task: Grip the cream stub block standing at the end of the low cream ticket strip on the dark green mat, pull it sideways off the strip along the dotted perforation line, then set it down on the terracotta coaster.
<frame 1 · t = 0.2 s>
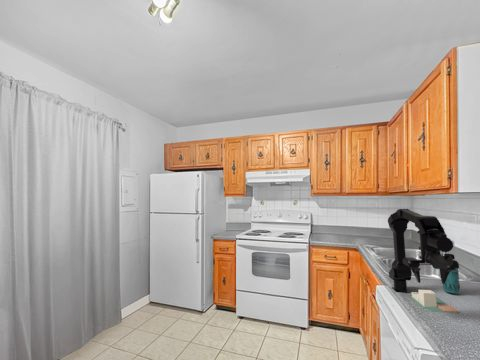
hand: (431, 283, 101), 14 cm above the countertop, fingers open, 9 cm apart
stub: (427, 304, 110), resting on mat
beverage bottle: (452, 294, 121), on the countertop
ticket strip: (420, 299, 115), resting on mat
mat: (432, 304, 111), on the countertop
coaster: (447, 308, 106), resting on mat
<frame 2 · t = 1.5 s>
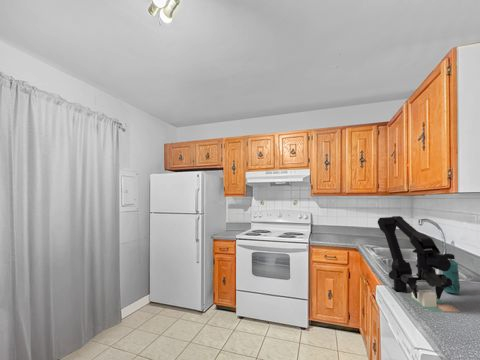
hand: (427, 298, 110), 3 cm above the countertop, fingers open, 9 cm apart
nothing on the countertop moved.
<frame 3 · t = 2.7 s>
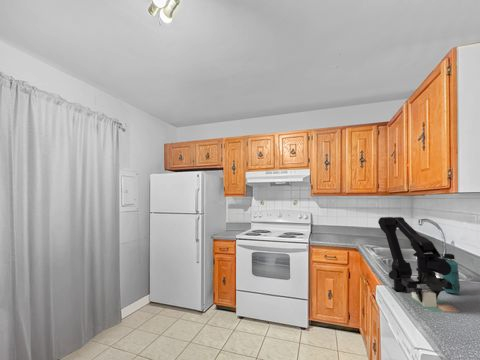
hand: (427, 302, 110), 2 cm above the countertop, fingers closed on stub, 5 cm apart
stub: (427, 304, 110), resting on mat, touching gripper
everything else where it was.
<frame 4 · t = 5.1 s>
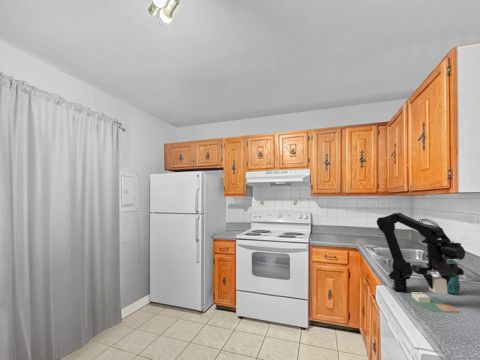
hand: (437, 288, 110), 8 cm above the countertop, fingers closed on stub, 5 cm apart
stub: (438, 291, 109), point 7 cm above the countertop, touching gripper
everything else where it was.
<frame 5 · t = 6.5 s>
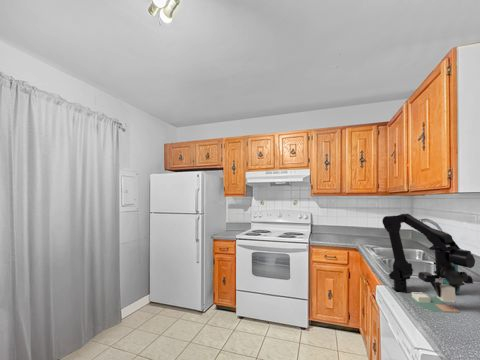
hand: (446, 297, 106), 5 cm above the countertop, fingers closed on stub, 5 cm apart
stub: (446, 299, 106), point 4 cm above the countertop, touching gripper
everything else where it was.
when the fingers open (3 cm above the countertop, at t = 7.7 s): stub drops 1 cm, resting on coaster.
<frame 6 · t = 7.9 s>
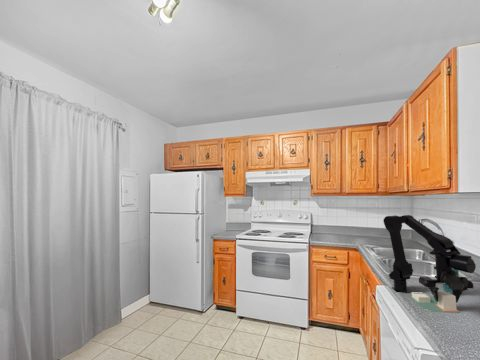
hand: (446, 301, 106), 3 cm above the countertop, fingers open, 7 cm apart
stub: (447, 307, 106), point 1 cm above the countertop, touching coaster
everything else where it was.
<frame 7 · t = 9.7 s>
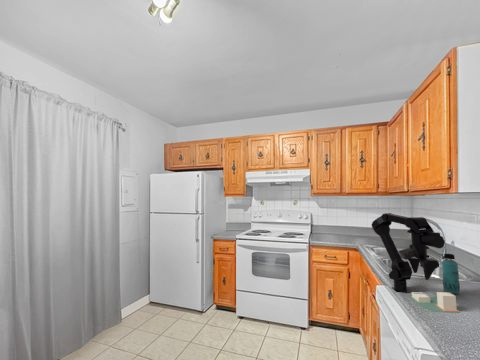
hand: (420, 276, 115), 12 cm above the countertop, fingers open, 9 cm apart
nothing on the countertop moved.
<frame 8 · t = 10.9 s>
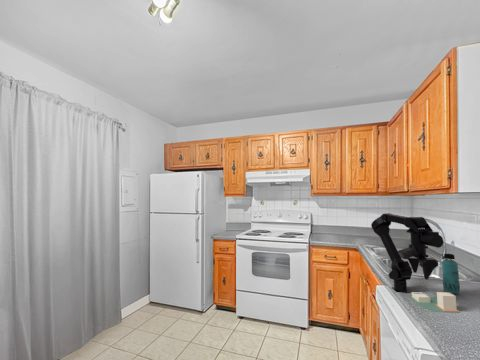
hand: (420, 275, 115), 12 cm above the countertop, fingers open, 9 cm apart
nothing on the countertop moved.
at the end: stub 0.0 cm off-centre on the coaster, point 0.4 cm above the coaster's base; stub tilted 0° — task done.
